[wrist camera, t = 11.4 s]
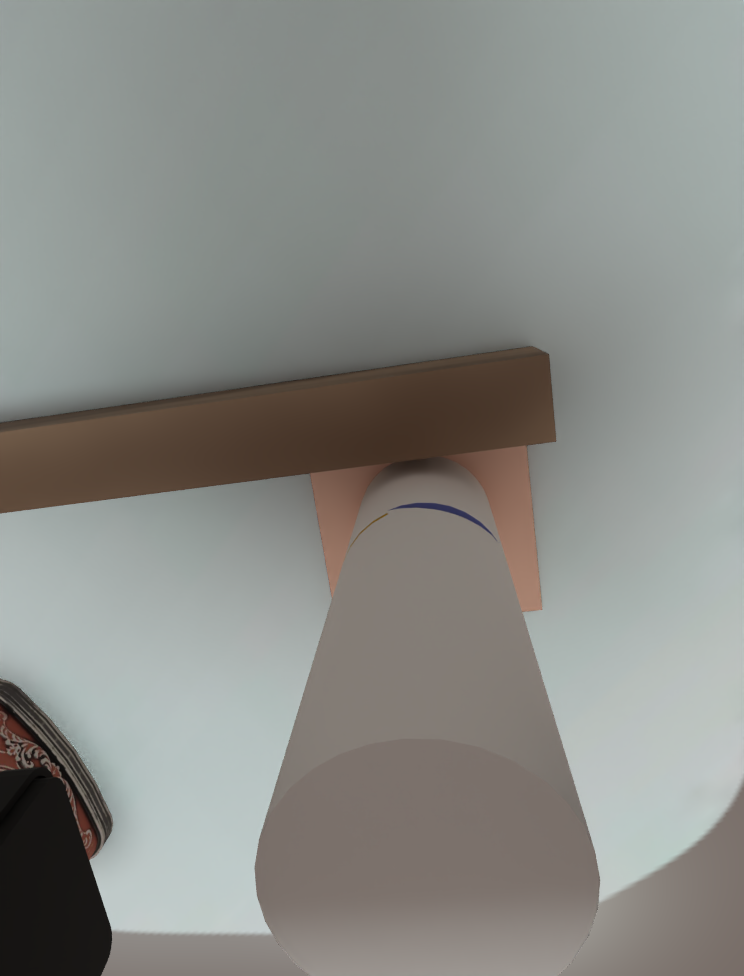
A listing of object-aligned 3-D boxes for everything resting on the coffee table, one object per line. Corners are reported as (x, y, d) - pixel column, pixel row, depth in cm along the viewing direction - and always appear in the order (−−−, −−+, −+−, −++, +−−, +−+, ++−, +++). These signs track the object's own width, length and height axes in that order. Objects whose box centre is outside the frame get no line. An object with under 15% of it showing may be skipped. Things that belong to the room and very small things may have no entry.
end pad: (309, 461, 23) (308, 464, 23) (524, 433, 23) (525, 435, 22) (338, 627, 25) (337, 631, 25) (540, 605, 24) (542, 609, 24)
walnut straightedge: (-172, 447, 24) (-251, 467, 22) (532, 346, 22) (548, 354, 19) (-148, 513, 25) (-223, 542, 22) (539, 422, 22) (556, 441, 20)
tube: (398, 599, 24) (358, 1057, 10) (336, 492, 23) (190, 819, 9) (513, 544, 23) (656, 956, 9) (452, 431, 22) (504, 682, 8)
